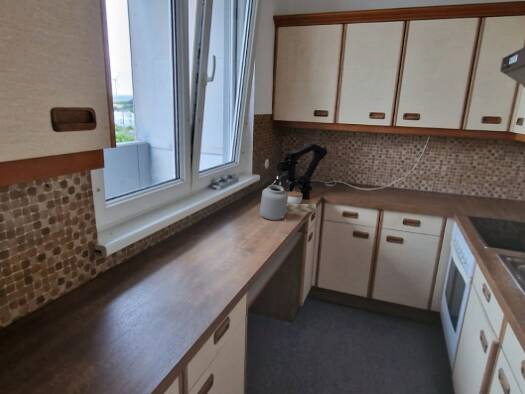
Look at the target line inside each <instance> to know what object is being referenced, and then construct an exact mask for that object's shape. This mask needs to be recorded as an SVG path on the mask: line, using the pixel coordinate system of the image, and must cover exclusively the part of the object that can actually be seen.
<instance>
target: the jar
mask: <svg viewBox="0 0 525 394" xmlns="http://www.w3.org/2000/svg"><path fill="white" fill-rule="evenodd" d="M276 179H277V180H279V175H277V176H276ZM274 183H276V181H274V182H273V183H272V184H270V185H268V186H267V187H265V188H264V189H263V190H262V192H261V193H262V194H261V199H260V201H261V202H260V208H259V213H260V215H261V216H262V217H263V218H264V219H267V220H269V221H278V220H281V219H283V218H284V217H285V215H286V212H285V211H286V205H287V204H288V202H287V200H288V194H287V192H288V191H286V190H285V187H284V186H281V185H277V184H274ZM284 220H285V221H287V220H286V219H284Z"/></svg>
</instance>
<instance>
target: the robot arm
mask: <svg viewBox="0 0 525 394" xmlns="http://www.w3.org/2000/svg"><path fill="white" fill-rule="evenodd" d="M327 150H328V149H327V148H325V147H322V146H320V145H317V144H316V143H313V142H312V143H309V144H308V145H305V146H304V147H302V148H299V149H297V150H291V151H288V152H287V153H286V156H285V157H284V158H283V161H281V160H279V162H278V163H277V164H276V169H277V172H279V173H281V172H282V173H283V172H285V173H283V174H281V175H278V180H279V183H282V182H284V181H286V182H285V184H286V185H287V187H288V188H287V189H288V192H294V188H295V187H298V189H299V192H300V193H302V194H303V195H302V200H311V198H310V196H311V195H310V194H311V191H312V190H313V187H312V186H311V185H310V184H311V180H312V179H311V178H312V176H313V174H314V172H315V171H316V169H317V167H318V165H319V163H320V162H321V161H322V160H323V159H324V158H325V157H326V155H327V154H328V151H327ZM310 152H313V158H312V160H311V162H310V163H309V165H308V166H307V167H308V168H307V169H306V171H305V173H304V174H303V175H299V178H298V179H297V178H296V175H297V172H296V170H297V165H299V162H298V160H299V159H300V158H301V157H302V156H304V155H306V154H308V153H310Z"/></svg>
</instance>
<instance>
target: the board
mask: <svg viewBox="0 0 525 394" xmlns="http://www.w3.org/2000/svg"><path fill="white" fill-rule="evenodd" d="M316 211H317V205H316V203H300V204H288V203H287V205H286V211H285V213H300V212H302V213H303V212H304V213H306V212H311V213H313V212H315V213H316Z"/></svg>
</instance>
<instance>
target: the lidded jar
mask: <svg viewBox="0 0 525 394" xmlns="http://www.w3.org/2000/svg"><path fill="white" fill-rule="evenodd" d="M286 192H287V194H288V200H287V204H302V201H303V199H302V195H303V194H302V193H300V191H296V190H293V191H292V192H289V191H286Z"/></svg>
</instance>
